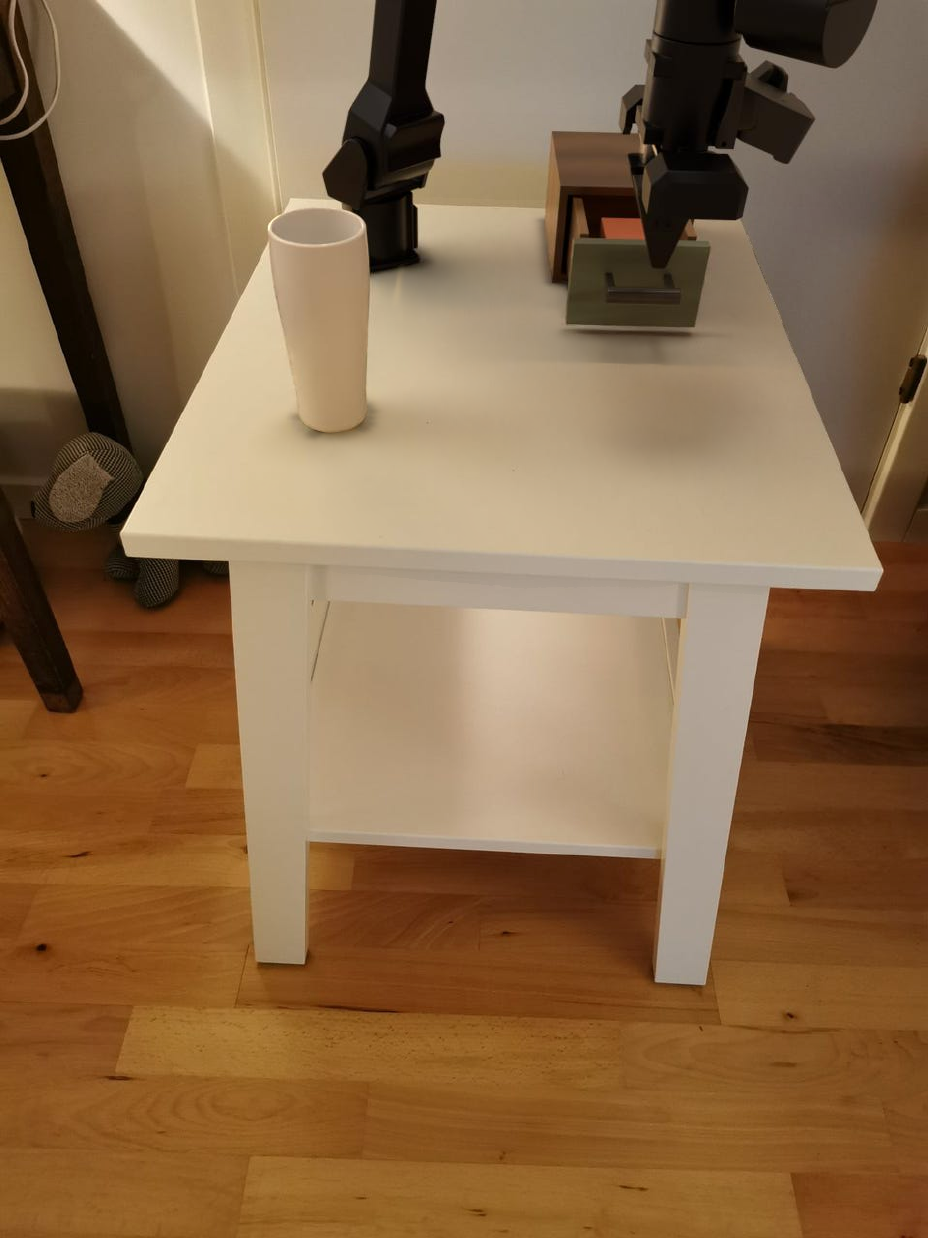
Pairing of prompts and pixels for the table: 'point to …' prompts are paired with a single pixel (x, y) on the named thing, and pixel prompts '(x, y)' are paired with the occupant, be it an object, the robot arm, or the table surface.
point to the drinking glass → (324, 311)
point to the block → (621, 228)
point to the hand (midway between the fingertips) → (658, 266)
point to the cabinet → (583, 180)
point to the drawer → (628, 271)
